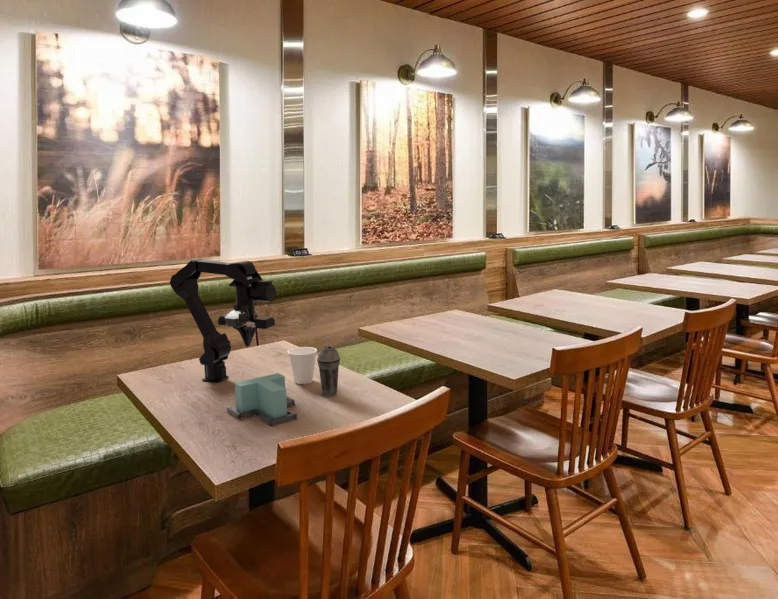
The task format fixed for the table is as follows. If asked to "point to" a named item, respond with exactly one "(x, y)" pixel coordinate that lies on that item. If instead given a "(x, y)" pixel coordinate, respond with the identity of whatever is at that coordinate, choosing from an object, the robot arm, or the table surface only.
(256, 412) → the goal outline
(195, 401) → the table surface
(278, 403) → the t block
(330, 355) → the beverage cup
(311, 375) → the cup
